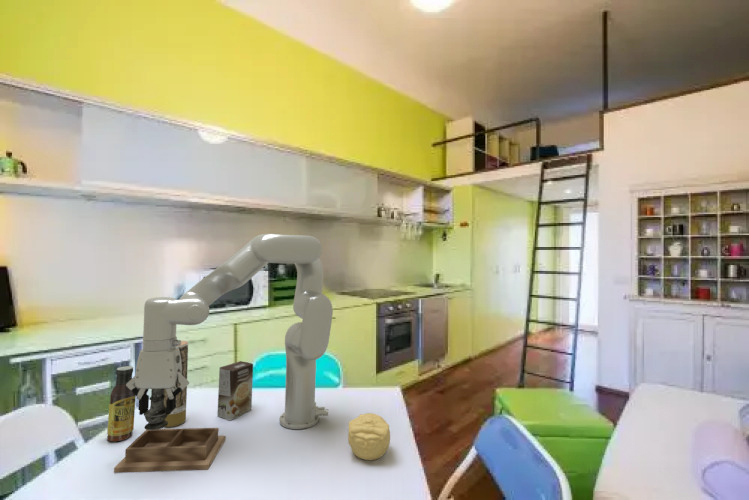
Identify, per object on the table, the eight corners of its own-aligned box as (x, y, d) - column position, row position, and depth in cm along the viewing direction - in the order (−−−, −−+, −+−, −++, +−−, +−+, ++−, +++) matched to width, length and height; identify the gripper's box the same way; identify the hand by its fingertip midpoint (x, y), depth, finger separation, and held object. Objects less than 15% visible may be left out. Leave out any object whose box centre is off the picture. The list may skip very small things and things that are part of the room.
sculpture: (343, 463, 93) (345, 422, 93) (353, 440, 105) (354, 403, 105) (387, 468, 92) (388, 426, 92) (391, 444, 104) (392, 406, 104)
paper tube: (190, 418, 115) (192, 341, 115) (176, 428, 108) (179, 346, 108) (170, 416, 116) (173, 340, 116) (155, 427, 109) (158, 345, 109)
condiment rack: (225, 439, 103) (225, 424, 103) (207, 469, 89) (208, 451, 89) (144, 441, 101) (145, 425, 101) (113, 472, 87) (114, 454, 87)
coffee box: (230, 421, 114) (232, 371, 114) (216, 416, 117) (218, 367, 117) (252, 410, 122) (253, 363, 123) (238, 405, 125) (240, 360, 125)
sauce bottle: (112, 445, 99) (115, 373, 99) (102, 438, 102) (105, 369, 102) (138, 435, 104) (140, 367, 104) (128, 429, 107) (130, 363, 107)
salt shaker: (150, 420, 97) (152, 376, 97) (173, 420, 98) (175, 376, 98) (138, 430, 91) (140, 384, 91) (162, 430, 92) (164, 384, 92)
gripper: (198, 341, 99) (196, 405, 99) (133, 340, 97) (130, 406, 97) (187, 348, 92) (185, 418, 92) (116, 348, 90) (113, 419, 90)
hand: (157, 411), depth 94 cm, fingers closed on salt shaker, 5 cm apart
